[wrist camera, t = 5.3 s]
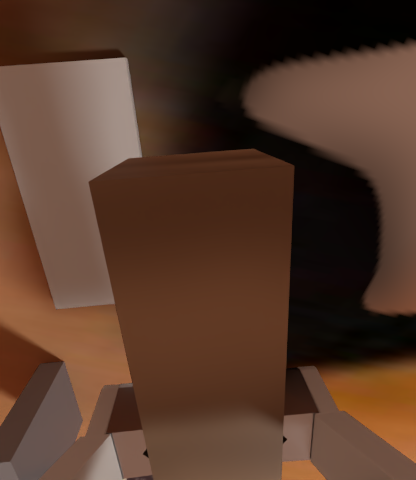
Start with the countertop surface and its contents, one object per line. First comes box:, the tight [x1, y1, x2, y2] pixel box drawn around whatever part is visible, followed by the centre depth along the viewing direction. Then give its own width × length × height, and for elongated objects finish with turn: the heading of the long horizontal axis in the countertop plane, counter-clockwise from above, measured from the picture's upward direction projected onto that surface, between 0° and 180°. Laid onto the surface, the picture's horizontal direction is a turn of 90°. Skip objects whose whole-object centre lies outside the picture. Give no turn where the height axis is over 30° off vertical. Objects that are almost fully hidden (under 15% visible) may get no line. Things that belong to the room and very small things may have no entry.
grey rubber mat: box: [0, 57, 142, 309], centre depth 20 cm, size 8×16×1 cm, turn 4°
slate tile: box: [0, 361, 83, 480], centre depth 22 cm, size 2×7×8 cm, turn 4°
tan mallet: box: [88, 149, 294, 480], centre depth 11 cm, size 22×7×4 cm, turn 4°
